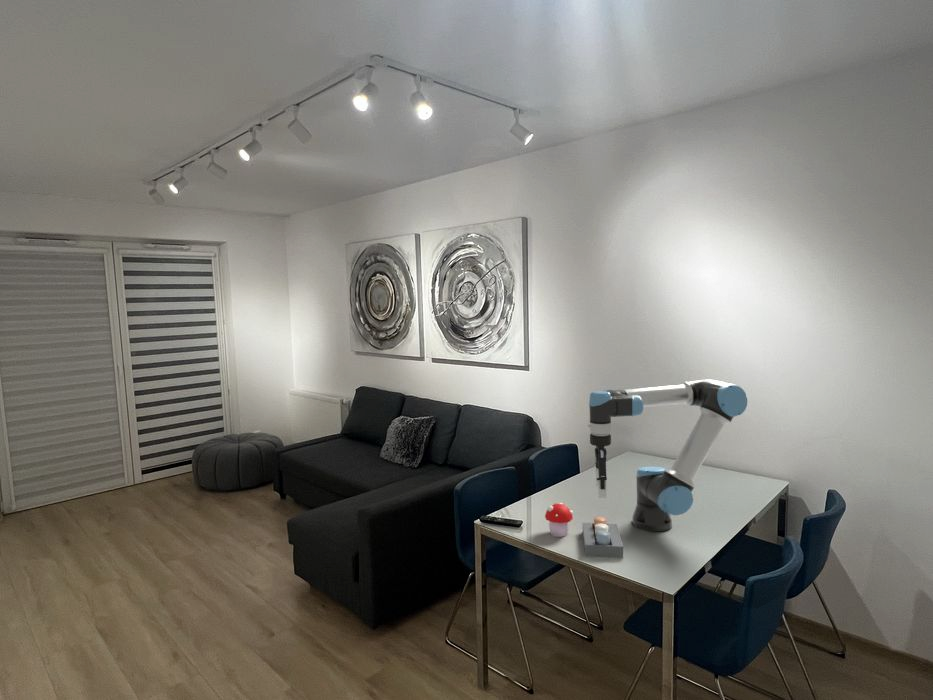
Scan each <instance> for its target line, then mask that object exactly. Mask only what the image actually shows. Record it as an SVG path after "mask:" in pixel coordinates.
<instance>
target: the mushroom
mask: <svg viewBox="0 0 933 700" xmlns="http://www.w3.org/2000/svg"><path fill="white" fill-rule="evenodd" d="M573 516H574V511H573V510H571V509H570V508H569V507H568V506H567V505H566V504H564V503H562V502H559V503H553V504H552V505H548V507H547V510H546V512H545V515H544V518H545V520H546V521H548V522H549V523H548V527H549V532H550V535H551V536H553V537H556V538H564V537H566V536H568V532H569V527H570V525H569V523H570V522H571V521H572V520H573V519H574V517H573Z"/></svg>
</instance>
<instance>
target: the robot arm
mask: <svg viewBox="0 0 933 700" xmlns="http://www.w3.org/2000/svg"><path fill="white" fill-rule="evenodd" d="M671 405H684V406H685V407H689V406H690V407H691V406H693V407H695V406H696V407H699V411H700V415H699V416H698V417H699V418H698V419H697V421H696V423H695V425H694V426H693V428H692V430H691V431H690V433H689V435H688V437H687V439H686V440H685V443H684V444H683V446H682V448H681V450H680V452H679V453H678V455H677V457H676V459H675V461H674V462H673V463H672V466H671V467H670V468H669V469H667V468H665V467H660V466H642V467H639V468H638V469H637V471H636V505H635V508H634V511H633V514H632V518H631V519H632V521H631V522H632V524H633V525H634V526H635V528H636V527H637V528H638V529H641V530H644V531H650V532H664V531H668V530H670V529H671V528H672V527H673V522H672V521H673V519H672V517H671V516H680V515H683V514H686V513H687V512H688V511H689V510H690V509H691V508H692V506H693V503H694V497H693V490H694V488H695V484H694V479H695V477H696V476H697V474H698V472H699V470H700V468H701V467H702V465H703V463H704V461H705V460H706V457H707V456H708V454H709V453H710V450H711V449H712V447H713V445H714V444H715V441H716V439H717V438H718V436H719V434H720V433H721V431H722V429H723V427H724V426H725V425H729V424H731V422H732V420H733V418H735V417H738V416H740V415H742V414H743V413H744V412H745V410H746V409H747V406H748V397H747V394H746V391H745V390H744V389H743V388H742V387H741V386H740V385H737V384H735V383H732V382H725V381H722V380H717V379H712V378H711V379H699V380H691V381H684V382H682V383H681V384H678V385H675V384H674V385H663V386H651V387H640V388H638V387H637V388H628V389H617V390H614V389H612V388H611V389H607V388H606V389H603V390H596V391H595V390H594V391H592V392H591V393H590V394H589V403H588V406H589V424H588V426H587V427H588V428H589V432H590V434H589V443H590V445H592V446H594V447H595V448H594V457H595V462H594V464H595V485H596V487H598V489H597V490H598V495H597V496H598V498H599V499H600V498H601V499H603V498H604V499H607V480H608V478H607V453H608V452H607V449H606V448H605V447H608V446H610V445H611V444H612V434H611V433H612V418H616V417H617V418H622V417H634V416H641V415H642V414H643V412H644V408H647V407H648V408H649V407H659V406H671Z"/></svg>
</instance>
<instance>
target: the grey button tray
mask: <svg viewBox="0 0 933 700" xmlns="http://www.w3.org/2000/svg"><path fill="white" fill-rule="evenodd" d="M607 525H608V532H609V533H610V545H596V537H595V530H594V522H582V538H583V546H584V554H585V557H601V558H602V557H603V558H618V559H619V558H624V545H623V542H622V538H621V534H620V531H619V527H618V524H617V523H607Z"/></svg>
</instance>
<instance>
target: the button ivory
mask: <svg viewBox="0 0 933 700" xmlns="http://www.w3.org/2000/svg"><path fill="white" fill-rule="evenodd" d="M598 531H607V532H608V525H606V524H596V525H595V537H596V533H597V532H598Z"/></svg>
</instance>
